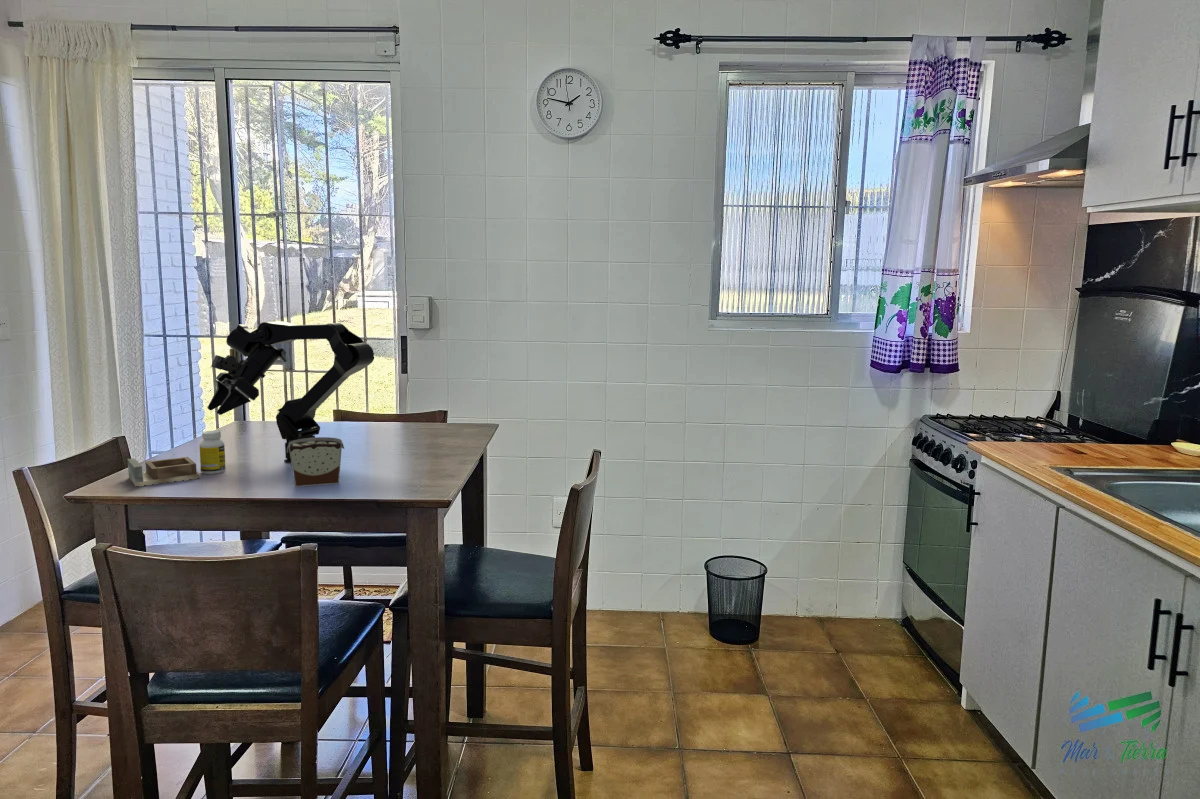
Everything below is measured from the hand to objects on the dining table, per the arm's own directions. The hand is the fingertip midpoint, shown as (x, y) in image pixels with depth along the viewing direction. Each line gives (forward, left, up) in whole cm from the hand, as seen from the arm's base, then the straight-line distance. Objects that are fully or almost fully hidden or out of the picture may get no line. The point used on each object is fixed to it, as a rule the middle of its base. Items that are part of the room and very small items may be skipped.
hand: (213, 411), depth 195 cm
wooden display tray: (+3, +15, -13) cm, 20 cm away
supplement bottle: (-4, +7, -14) cm, 16 cm away
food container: (-33, +13, -14) cm, 38 cm away
